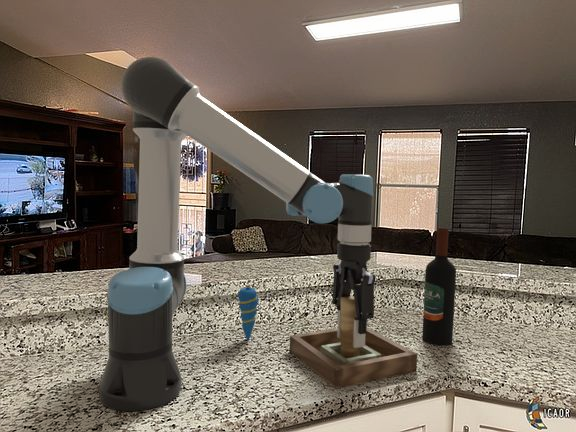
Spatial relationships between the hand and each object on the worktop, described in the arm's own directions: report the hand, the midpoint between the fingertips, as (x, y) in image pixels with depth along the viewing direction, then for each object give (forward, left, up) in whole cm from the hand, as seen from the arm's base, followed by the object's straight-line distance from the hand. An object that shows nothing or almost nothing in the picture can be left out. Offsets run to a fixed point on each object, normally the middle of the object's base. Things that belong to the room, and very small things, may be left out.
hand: (350, 341), depth 103 cm
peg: (0, 0, -4) cm, 4 cm away
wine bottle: (+29, +2, -5) cm, 29 cm away
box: (0, 0, -5) cm, 5 cm away
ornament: (-17, +22, -5) cm, 28 cm away
